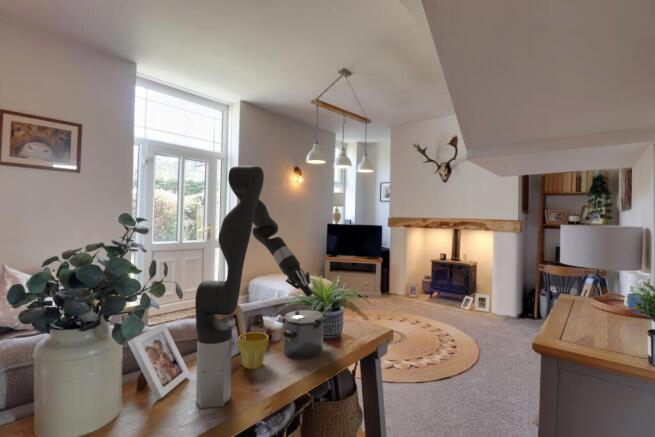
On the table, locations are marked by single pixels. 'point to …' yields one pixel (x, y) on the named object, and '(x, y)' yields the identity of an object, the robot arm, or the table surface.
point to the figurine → (258, 324)
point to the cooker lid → (305, 317)
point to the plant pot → (253, 349)
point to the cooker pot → (302, 339)
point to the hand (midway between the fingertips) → (310, 295)
